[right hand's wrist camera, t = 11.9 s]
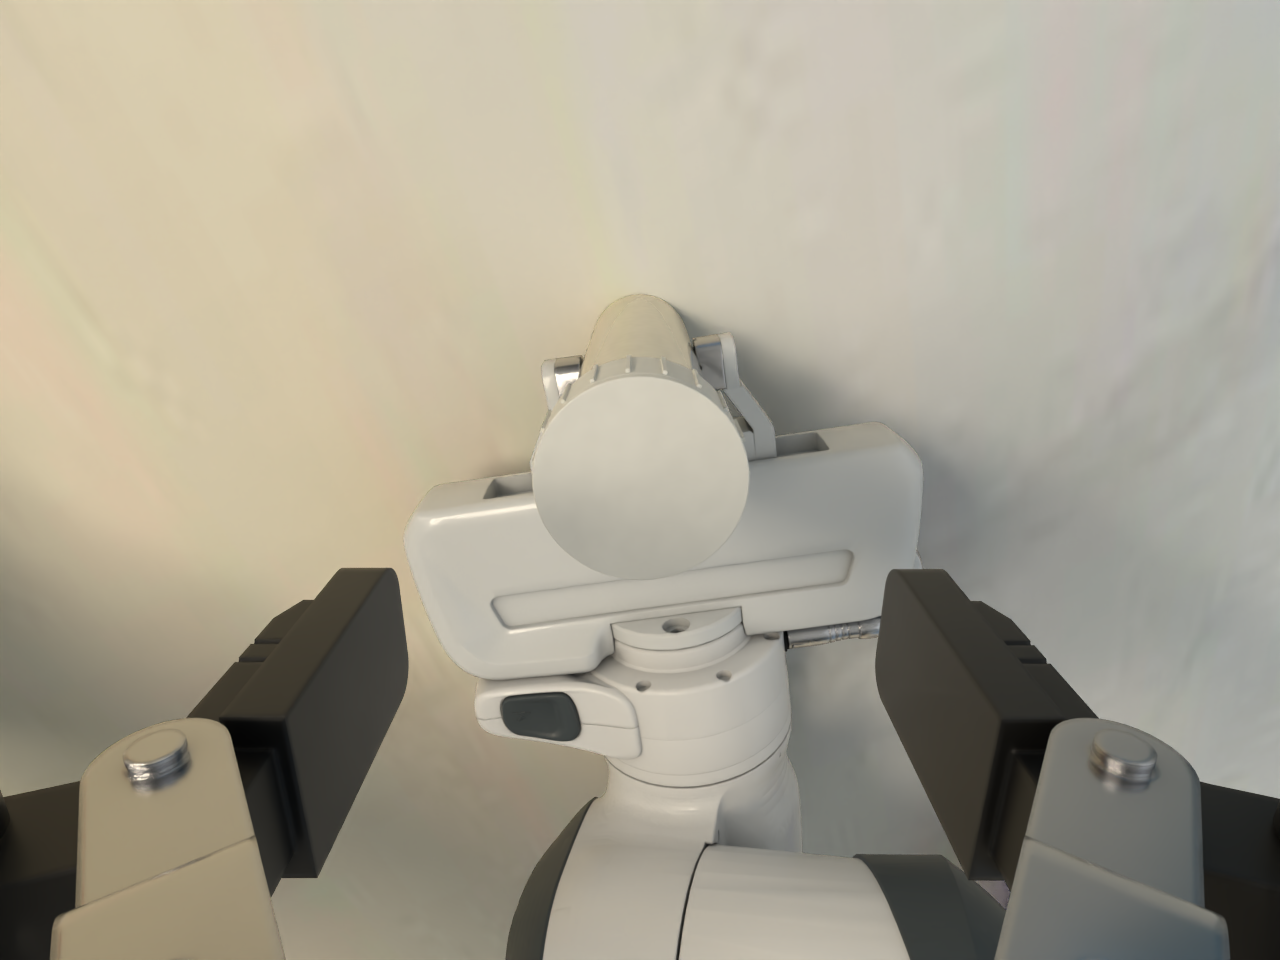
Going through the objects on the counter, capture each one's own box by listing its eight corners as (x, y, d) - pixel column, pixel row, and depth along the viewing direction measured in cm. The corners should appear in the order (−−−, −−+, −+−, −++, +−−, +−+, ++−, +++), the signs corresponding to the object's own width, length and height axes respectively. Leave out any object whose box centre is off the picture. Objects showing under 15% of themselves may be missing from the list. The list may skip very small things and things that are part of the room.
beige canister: (687, 292, 33) (734, 383, 17) (688, 387, 35) (732, 557, 18) (589, 295, 33) (541, 389, 17) (595, 390, 35) (555, 562, 18)
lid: (742, 349, 18) (756, 368, 16) (739, 540, 20) (751, 580, 18) (533, 356, 18) (519, 376, 16) (549, 547, 20) (538, 586, 18)
